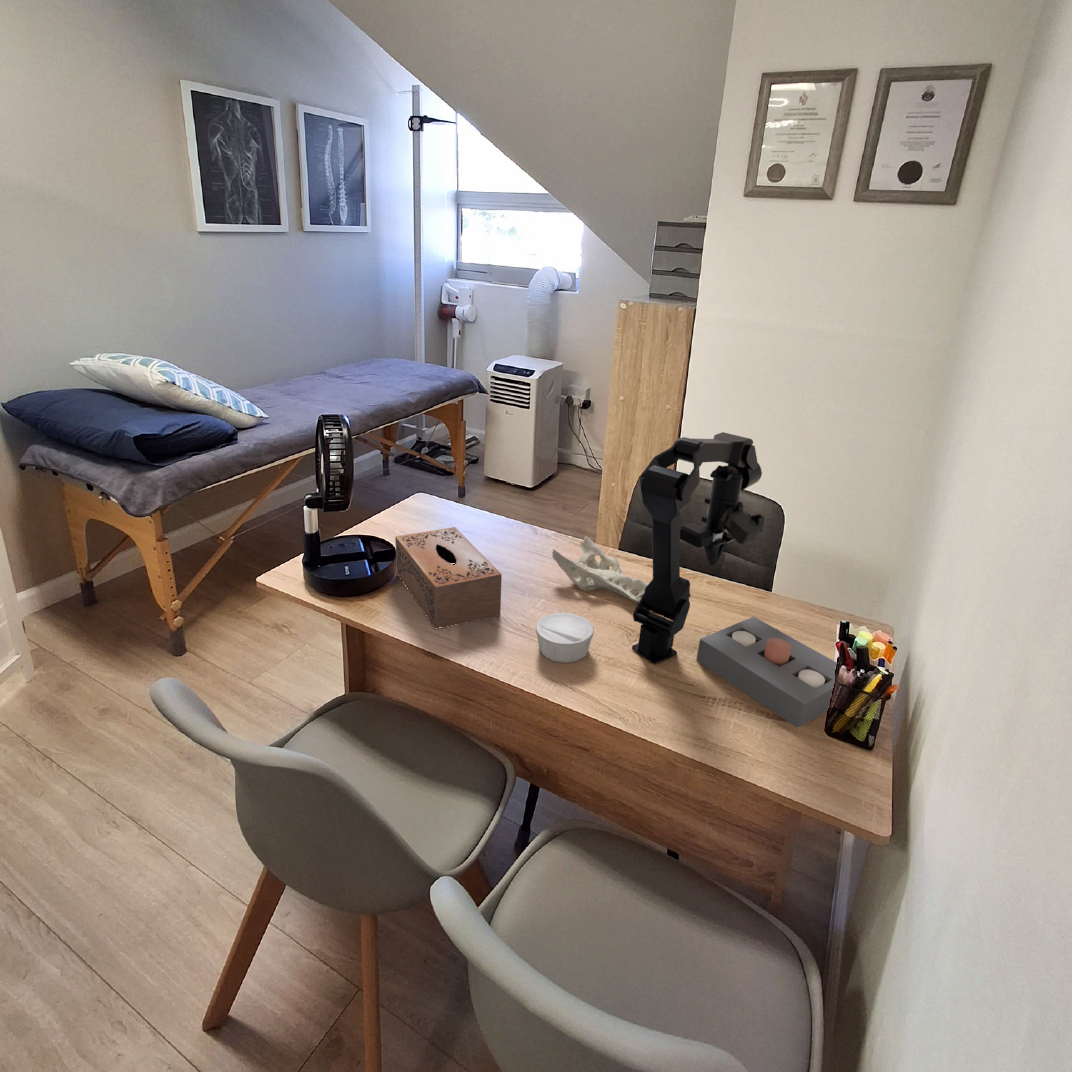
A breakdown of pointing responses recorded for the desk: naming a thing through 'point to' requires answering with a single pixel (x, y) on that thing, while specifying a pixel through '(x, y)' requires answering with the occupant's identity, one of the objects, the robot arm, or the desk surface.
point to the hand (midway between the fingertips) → (712, 564)
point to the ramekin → (564, 636)
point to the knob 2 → (812, 678)
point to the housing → (770, 671)
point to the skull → (600, 572)
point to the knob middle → (777, 651)
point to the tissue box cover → (448, 577)
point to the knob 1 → (744, 638)
